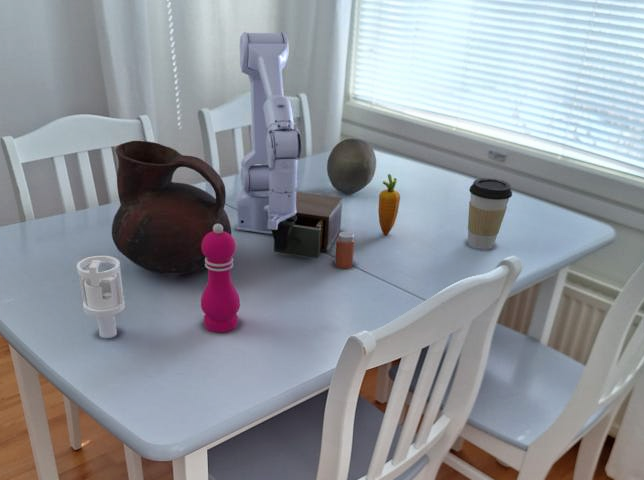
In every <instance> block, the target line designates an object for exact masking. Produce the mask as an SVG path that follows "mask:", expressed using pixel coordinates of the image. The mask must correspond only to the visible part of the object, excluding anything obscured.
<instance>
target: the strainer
mask: <svg viewBox="0 0 644 480" xmlns="http://www.w3.org/2000/svg"><path fill="white" fill-rule="evenodd" d="M101 263H102V264H103V263H104V264H105V263H106V264H111V265H113V266H114V267H112V268H111V269H107V270H101V271H99V267H100V265H101ZM87 266H88V269H87V270H86V269H85V270H84V268H85V267H87ZM76 270H77V274H78V279H79V280H78V281H79V286H80V287H79V288H80V293H81V298H82V307H83V311H84V313H85V314H86V315H88V316H90V317H91V316H92V317H96V320H97V326H98V334H99V337H100V338H102V339H111V338H114V337H116V336H117V335H118V331H117V323H116V316H115V315H117V314H120V313H121V312H122V311H123V310H125V307H126V304H125V303H126V301H125V297H124V289H123V281H122V280H123V279H122V271H121V263H120V260H119V259H118V258H117V257H114V256H111V255H94V256H88V257H85V258H83V259H81V260H80V261H78V262H77V264H76Z"/></svg>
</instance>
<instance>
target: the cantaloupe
mask: <svg viewBox="0 0 644 480" xmlns="http://www.w3.org/2000/svg"><path fill="white" fill-rule="evenodd" d="M376 169H377V156H376V153H375V152H374V149H373V147H372V146H371V144H369V142H367V141H365V140H363V139H359V138H347V139H346V138H345V139H343V140H342V141H339V142H338V143H337V144H336V145H334V147H333V148H332V150H331V152H330V153H329V156H328V157H327V163H326V171H327V176H328V177H327V178H328V179H329V182H330V184H331V186H332V187H333V188H334V189H335V190H336V191H338V192H340V193H342V194H348V195H349V194H350V195H351V194H355V193H358V192H360V191H362V190H363V189H364V188H366V187H367V186H368V185H369V184H370V183H371V182H372V180H373V178H374V177H375V173H376V171H377V170H376Z"/></svg>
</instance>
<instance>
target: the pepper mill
mask: <svg viewBox="0 0 644 480" xmlns="http://www.w3.org/2000/svg"><path fill="white" fill-rule="evenodd" d="M201 248H202V252H203V254H204V255H205V256H206V258H205V262H206V263H205V268H206V269H207V272H208V280H207V283H206V286H205V288H204V290H203V292H202V295H201V297H200V298H201V299H200V308H201V311H202V312H203V313H204V316H203V321H204V322H203V324H204V327H205V329H207V330H208V331H210V332H213V333H227V332H232V331H233V330H235V329H236V328H237V327H238V323H239V320H238V319H239V316H238V312H239V310H240V308H241V300H240V296H239V293H238V291H237V289H236V287H235V286H234V283H233V281H232V276H231V270H232V268H233V267H234V258H233V256H234V254H235V253H236V249H237V245H236V241H235V238H234V237H233V236H232V234H231V235H230V234H229V233H227V232H224V231H223V226H222V225H221V224H215V225H214V226H213V231H212V232H210V233H208V234H207V235H206V236H205V237H204V238H203V240H202V245H201Z"/></svg>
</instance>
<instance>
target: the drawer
mask: <svg viewBox="0 0 644 480" xmlns="http://www.w3.org/2000/svg"><path fill="white" fill-rule="evenodd" d="M325 222H326V220H323V219H316V218H309V217H302V216H297V219H296V221H295V223H294V225H293V227H292V230H291V233H290V237H289V242H288V246H287V248H286V250H278V249H276V246H275V242H274V241H273V252H274V253H277V254H283V255H284V254H285V255H290V256H298V257H305V258H311V259H319V258H320V252H321V251H320V249H321V247H322V245H323V244H324V239H325Z"/></svg>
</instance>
